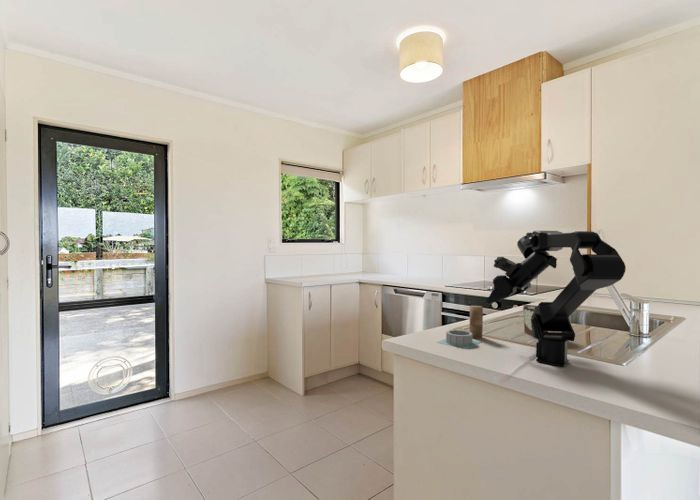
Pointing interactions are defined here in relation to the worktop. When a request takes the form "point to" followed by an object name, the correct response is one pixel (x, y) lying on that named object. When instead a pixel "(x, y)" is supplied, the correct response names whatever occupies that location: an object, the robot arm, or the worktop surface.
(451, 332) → the ring stand
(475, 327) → the walnut peg
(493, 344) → the worktop surface
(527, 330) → the food container
